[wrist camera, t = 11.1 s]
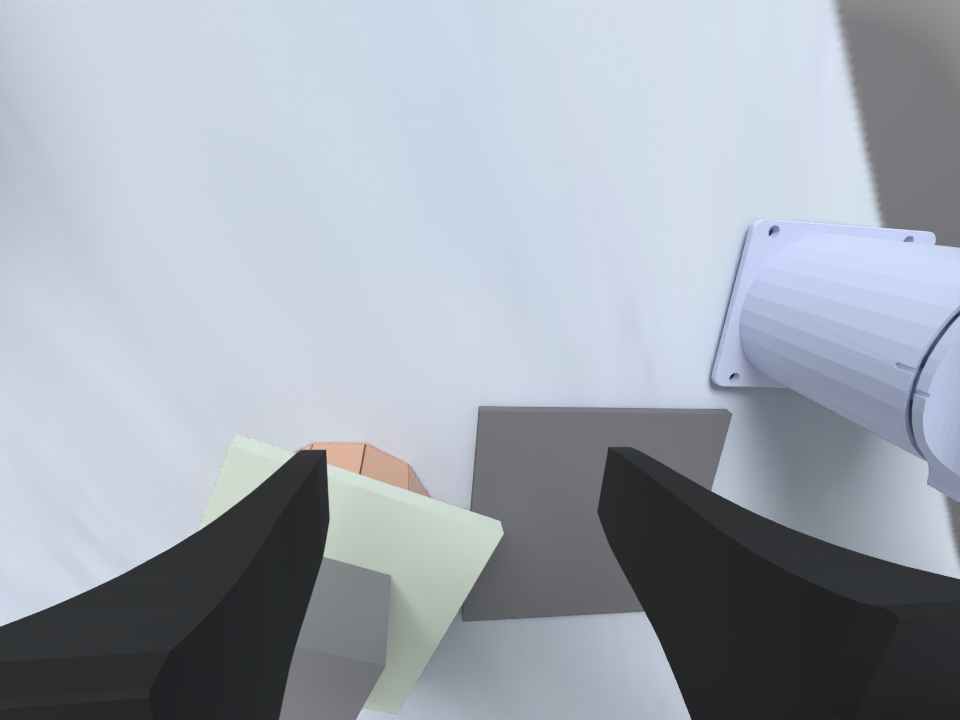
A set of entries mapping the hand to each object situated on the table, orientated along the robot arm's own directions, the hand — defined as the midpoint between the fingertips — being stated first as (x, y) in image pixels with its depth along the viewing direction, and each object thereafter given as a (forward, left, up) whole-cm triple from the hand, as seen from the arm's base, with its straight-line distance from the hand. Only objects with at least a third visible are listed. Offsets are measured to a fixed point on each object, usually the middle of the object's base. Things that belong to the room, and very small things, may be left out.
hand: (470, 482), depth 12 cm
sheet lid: (+5, +9, -6) cm, 12 cm away
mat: (-8, +9, -10) cm, 16 cm away
